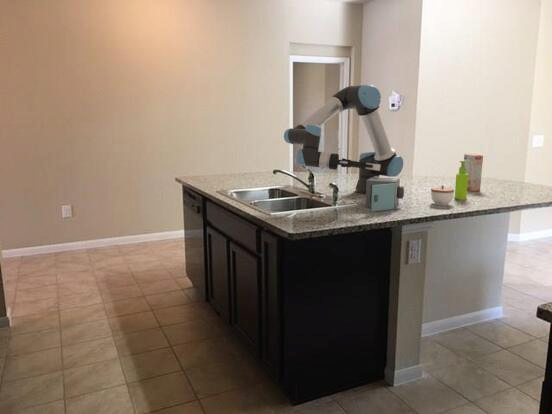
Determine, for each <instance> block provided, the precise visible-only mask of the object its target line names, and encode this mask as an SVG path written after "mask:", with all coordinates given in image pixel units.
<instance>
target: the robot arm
mask: <svg viewBox="0 0 552 414" xmlns="http://www.w3.org/2000/svg"><path fill="white" fill-rule="evenodd" d="M381 97H382V95H381V92H380V90H379V89H378V88H377V86H375V85H374V84H373V85H372V84H362V85H360V84H359V85H350V86H346V87H344V88H341V90H340V89H339V91H337V92H335V94H333V95H332V96H330V97H329V98H328V101H326V103H324V104H323V105H321V107H319V108H318V109H317V110H315V111H314V112H313V113H312V114H310V115H309V116H308V117H306V118H305V119H304V120H303V121H302V122H300V123H299V124H298V125H296V126H295V127H293V128H287V129H286V130H285V131H284V133H283V138H284V141H285V143H286V144H291V145H302V148H300V149H298V151H297V154H296V163H297V165H300V166H305V167H311V168H320V169H321V170H324V169H329V170H338V166H340V167H341V168H357V169H358V179H357V183H356V185H355V189H354V190H355V192H356V193H359V194H365V195H366V180H368V179H370V178H371V177H373V178H374V177H379V178H380V176H383V177H388V178H393V177H394V178H395V177H398V176H399V175H400V174H401V172H402V171H403V167H404V159H403V157H402V155H401V156H400V155H397V152H396V150H395V149H394V148H393V147H391V144H390V141H389V139H388V136H387V133H386V131H385V127H384V125H383V122H382V119H381V116H380V114H379V108H380V104H381ZM350 109H351V110H354V109H355V111H356V114H357V115H358V116H359V117H361V120H362V121H363V123H364V124H363V125H364V126H365V127H364V128H365V129H366V132H367V135H368V137H369V140H370V143H371V145H372V149H373V150H374V151H367V152H361V153H359V157H358V158H359V159H358V161H356V160H351V159H346V158H341V159H339V158H340V155H339V153H330V152H325V151H319V148H320V142H321V136H322V125H324V124H325V123H327V122H328V121H329V120H330V119H331V118H333V117H334V116H335V115H337V114H341V113H342V112H344V111H346V110H350Z"/></svg>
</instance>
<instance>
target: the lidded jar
mask: <svg viewBox="0 0 552 414" xmlns="http://www.w3.org/2000/svg"><path fill="white" fill-rule="evenodd" d="M430 190H431V191H430V195H431V200H432V202H433V203H434V204H435V205H437V206H448V205H449V204H450V203H451V202H452V201H453V198H454V195H455V188H450V187H445V186H444V185H441V187H438V186H437V187H432V188H430Z"/></svg>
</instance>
